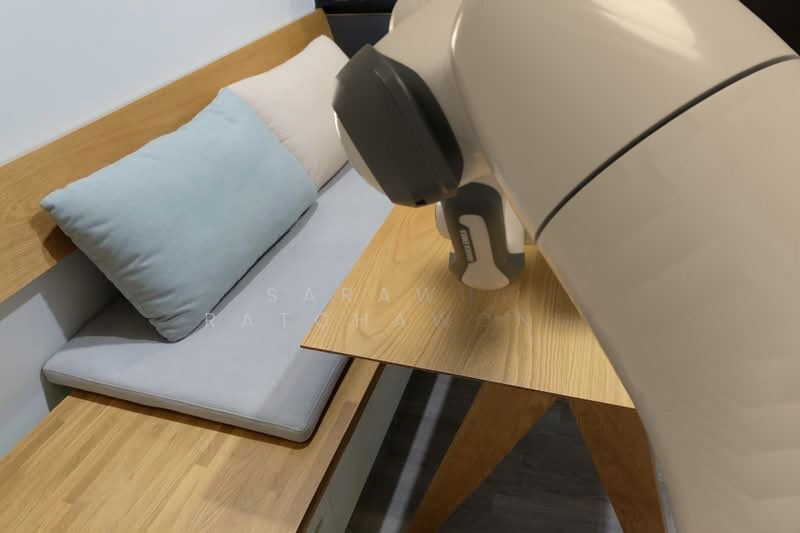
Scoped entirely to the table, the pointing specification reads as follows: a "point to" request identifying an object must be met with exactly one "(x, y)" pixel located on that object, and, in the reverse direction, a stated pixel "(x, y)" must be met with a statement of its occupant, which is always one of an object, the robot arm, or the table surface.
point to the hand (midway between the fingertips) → (645, 217)
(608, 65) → the robot arm
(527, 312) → the table surface
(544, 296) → the table surface
